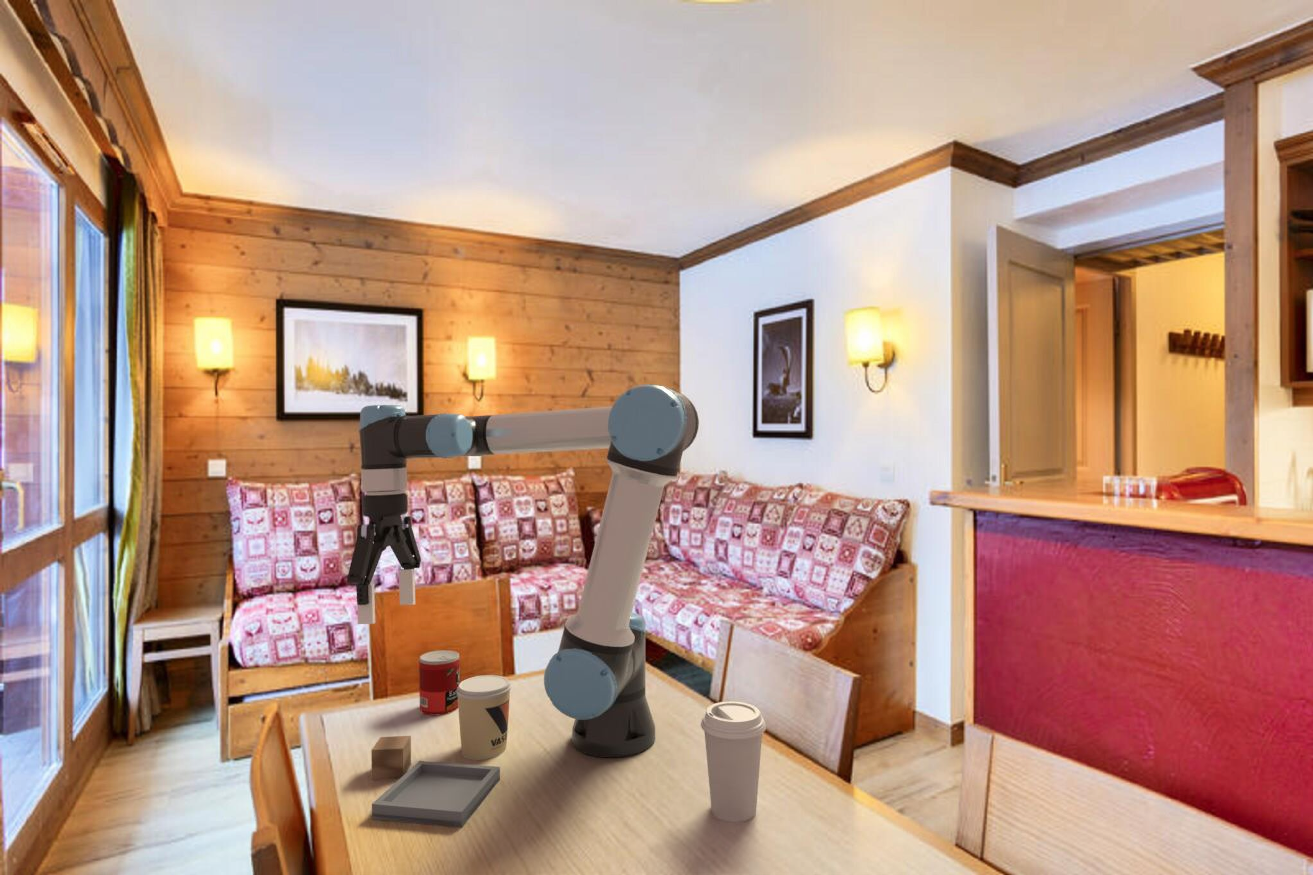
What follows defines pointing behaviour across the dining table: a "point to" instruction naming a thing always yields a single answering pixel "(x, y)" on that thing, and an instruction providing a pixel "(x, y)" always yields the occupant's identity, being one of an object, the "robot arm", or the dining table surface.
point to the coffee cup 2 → (733, 758)
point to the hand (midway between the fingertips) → (388, 613)
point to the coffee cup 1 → (483, 716)
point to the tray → (437, 794)
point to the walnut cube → (391, 757)
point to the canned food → (439, 682)
